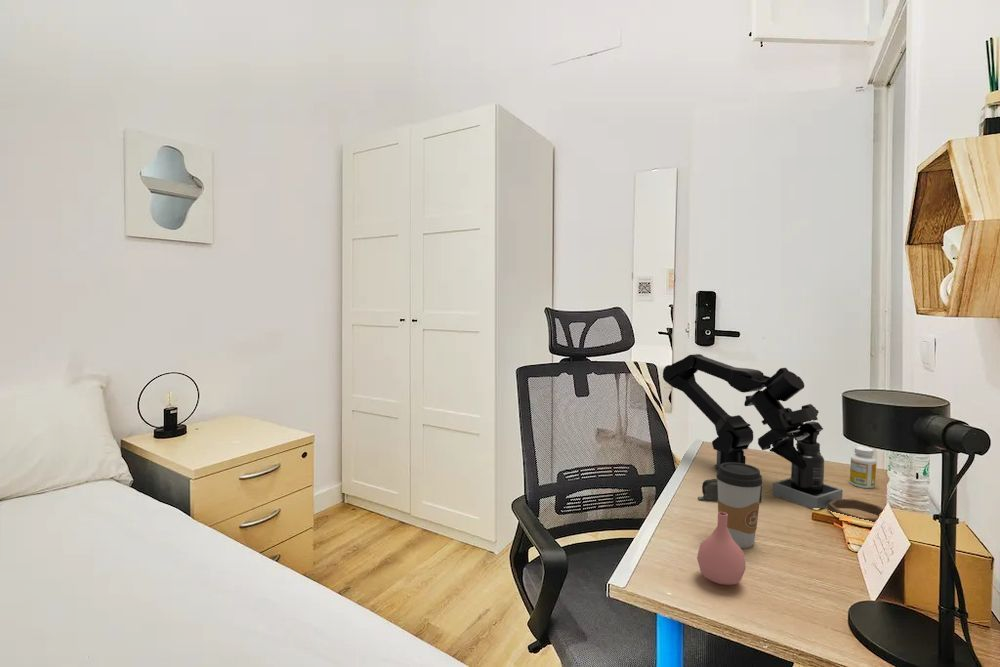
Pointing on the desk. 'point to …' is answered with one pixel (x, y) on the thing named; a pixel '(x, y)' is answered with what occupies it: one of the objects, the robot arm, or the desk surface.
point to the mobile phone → (713, 490)
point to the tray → (805, 499)
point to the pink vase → (721, 555)
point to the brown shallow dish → (854, 504)
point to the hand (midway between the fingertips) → (813, 466)
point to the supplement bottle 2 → (863, 468)
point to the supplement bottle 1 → (808, 469)
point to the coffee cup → (739, 500)
